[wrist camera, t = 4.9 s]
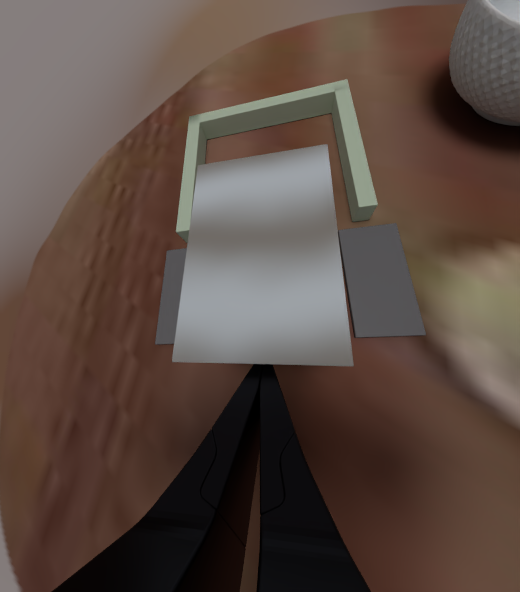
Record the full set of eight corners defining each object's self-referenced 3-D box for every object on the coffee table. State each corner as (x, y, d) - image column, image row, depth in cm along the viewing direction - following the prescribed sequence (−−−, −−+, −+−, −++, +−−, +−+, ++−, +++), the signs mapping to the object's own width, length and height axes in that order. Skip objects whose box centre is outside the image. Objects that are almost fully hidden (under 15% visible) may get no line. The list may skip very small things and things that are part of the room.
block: (322, 357, 16) (353, 366, 7) (230, 356, 17) (171, 361, 9) (312, 232, 19) (327, 144, 11) (236, 239, 20) (197, 165, 12)
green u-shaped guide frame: (422, 335, 15) (441, 333, 13) (158, 344, 18) (142, 343, 16) (360, 97, 23) (366, 74, 21) (183, 136, 26) (175, 120, 24)
